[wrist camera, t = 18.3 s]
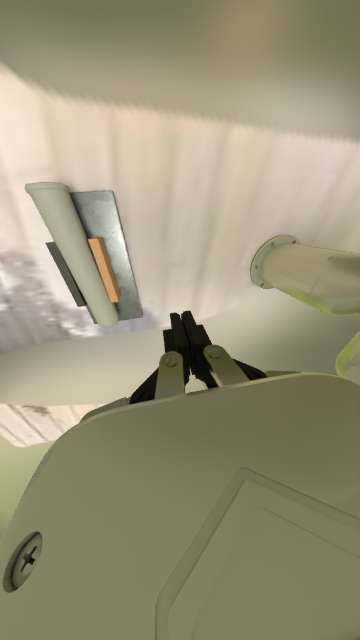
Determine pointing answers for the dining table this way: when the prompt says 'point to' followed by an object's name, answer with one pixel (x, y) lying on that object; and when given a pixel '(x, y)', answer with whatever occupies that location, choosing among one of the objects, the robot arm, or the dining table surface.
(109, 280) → the bar
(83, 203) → the galvanized metal plate
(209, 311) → the dining table surface
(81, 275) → the tube
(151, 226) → the dining table surface
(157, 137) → the dining table surface
